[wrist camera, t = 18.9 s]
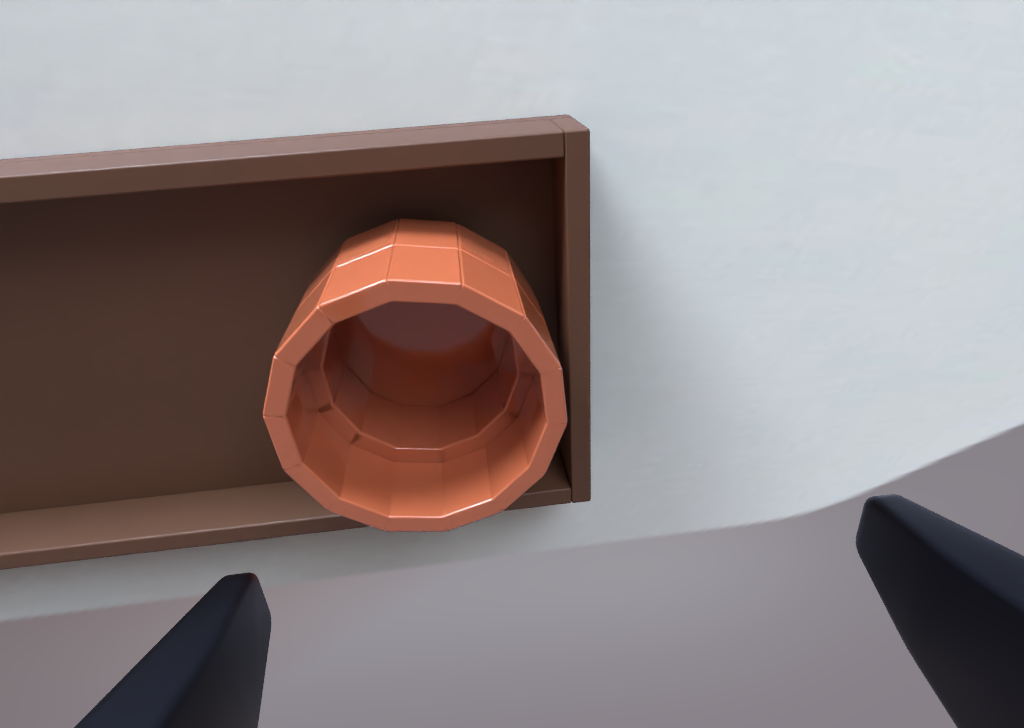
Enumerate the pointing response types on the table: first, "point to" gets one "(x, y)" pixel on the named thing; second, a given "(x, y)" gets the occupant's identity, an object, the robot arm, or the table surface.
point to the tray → (237, 317)
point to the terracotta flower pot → (416, 381)
